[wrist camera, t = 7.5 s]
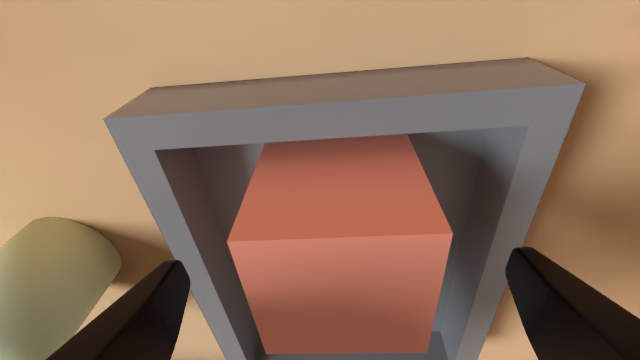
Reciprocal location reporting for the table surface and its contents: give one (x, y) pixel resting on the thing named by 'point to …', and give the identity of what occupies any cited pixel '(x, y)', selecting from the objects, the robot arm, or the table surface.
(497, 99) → the serving tray
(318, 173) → the red cube
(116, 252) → the green cylinder
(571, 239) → the table surface
